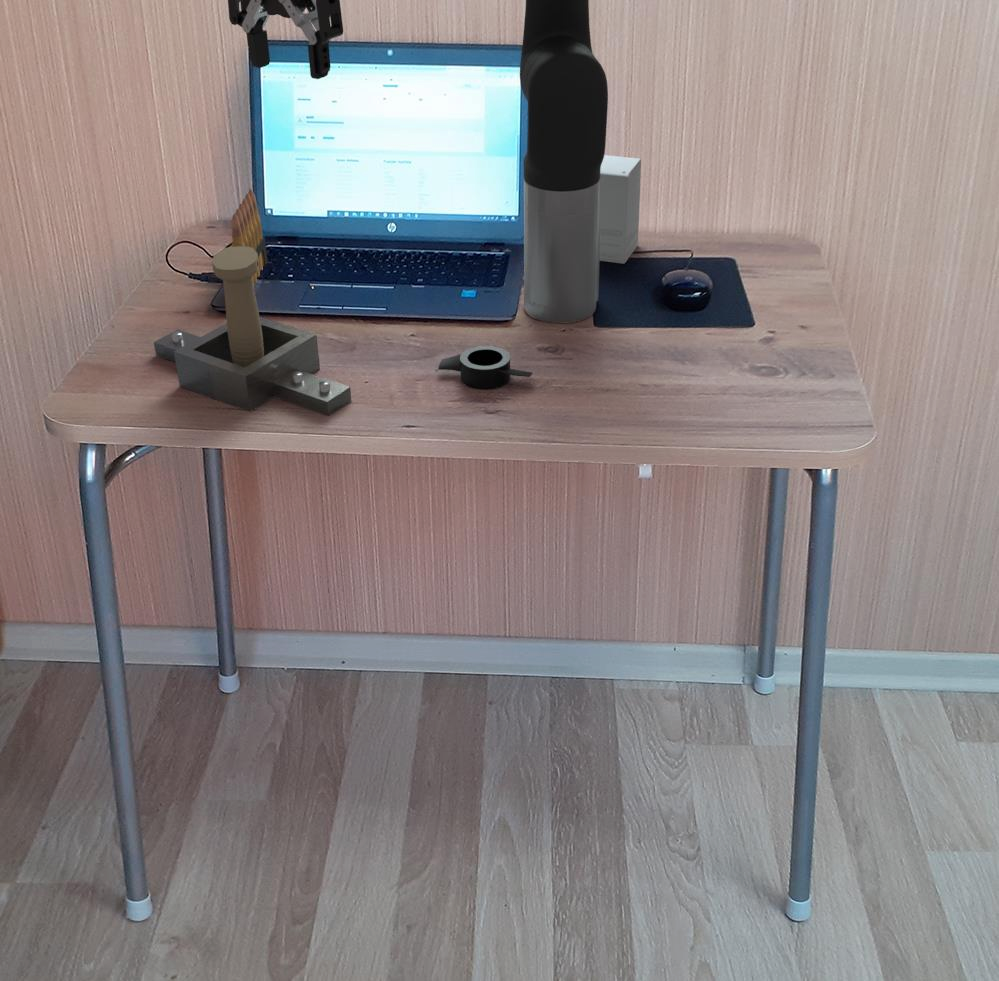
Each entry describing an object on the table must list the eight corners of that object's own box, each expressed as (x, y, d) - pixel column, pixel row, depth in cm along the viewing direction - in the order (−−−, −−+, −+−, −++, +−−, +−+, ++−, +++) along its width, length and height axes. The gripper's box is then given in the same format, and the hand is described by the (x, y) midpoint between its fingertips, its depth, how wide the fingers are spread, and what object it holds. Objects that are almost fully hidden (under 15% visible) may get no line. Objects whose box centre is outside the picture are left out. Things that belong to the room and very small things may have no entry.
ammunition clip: (251, 304, 169) (239, 216, 162) (237, 304, 169) (225, 216, 162) (269, 270, 178) (258, 186, 171) (255, 270, 178) (245, 185, 171)
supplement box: (639, 245, 184) (643, 157, 177) (624, 265, 178) (628, 176, 171) (589, 238, 186) (591, 151, 179) (573, 258, 180) (574, 169, 173)
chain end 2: (214, 398, 148) (209, 363, 146) (284, 357, 157) (280, 323, 154) (304, 431, 142) (300, 395, 139) (373, 386, 150) (370, 351, 148)
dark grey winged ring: (488, 406, 147) (487, 384, 145) (432, 375, 153) (431, 353, 151) (538, 384, 151) (538, 362, 149) (483, 354, 157) (482, 332, 155)
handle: (274, 363, 155) (260, 245, 147) (268, 390, 150) (253, 269, 142) (233, 365, 155) (217, 246, 147) (226, 391, 150) (208, 270, 141)
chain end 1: (131, 368, 155) (124, 334, 152) (203, 330, 163) (198, 297, 160) (214, 398, 148) (209, 363, 146) (284, 357, 157) (280, 323, 154)
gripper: (350, -86, 134) (361, 72, 143) (248, -98, 141) (264, 54, 150) (302, -74, 129) (317, 90, 138) (198, -87, 136) (219, 70, 145)
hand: (290, 71), depth 144 cm, fingers open, 8 cm apart
